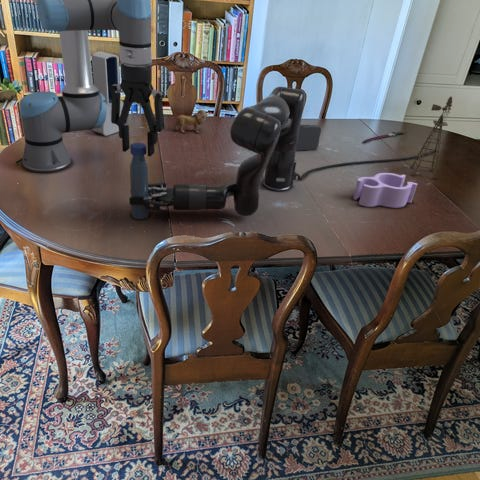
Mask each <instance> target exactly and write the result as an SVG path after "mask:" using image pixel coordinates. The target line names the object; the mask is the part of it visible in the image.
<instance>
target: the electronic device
mask: <svg viewBox="0 0 480 480" xmlns="http://www.w3.org/2000/svg"><path fill="white" fill-rule="evenodd" d="M91 59H92V61H91V64H92V77H93V84H94V85H95V86H96V87H97V88H98V91H99V93H101V94H102V95H103V96H104V98H105V103H106V106H107V116H106V120H105V123H104V125H103V126H102V127H100V128H96V129H92V131H94V133H96V134H99V135H102V136H105V137H107V136H110V135H112V134H113V135H114V134H117V133H119V127H118V125H116V124H113V123H112V122H111V109H112V94H111V90H110V86H112V85H114V84H120V70H119V69H120V68H119V56H118V55H115V54H112V53H109V52H104V51H96V52H94V53H93V54H91ZM123 102H124V101H122V100H121V99H120V114H121V111H122V108H123V104H124V103H123ZM125 125H127V123H126V124H125Z"/></svg>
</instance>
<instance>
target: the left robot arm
mask: <svg viewBox="0 0 480 480" xmlns="http://www.w3.org/2000/svg"><path fill="white" fill-rule="evenodd" d="M32 1H33V2H34V4H35V5H36V13H37V17H38V20H39V22H40V25H41V27H42V28H43V29H44V30H46V31H55V32H58V33H59V34H58V35H59V43H60V51H61V57H62V65H63V66H62V67H63V73H64V80H65V85H64V86H63V87H62V89H61V95H60V96H59V95H58V94H57V93H56V92H54V91H45V90H44V91H43V90H42V91H36V92H32V93H28V94H26V95H24V96H23V97H22V98H21V99H20V100H19V103H18V104H19V116H20V119H21V125H22V132H23V136H24V148H23V153H22V158H21V157H20V159H18V160H16V161H15V164H16V165H17V164H19V163H22V166H23V168H24V169H25V170H27V171H29V172H33V173H39V174H46V173H56V172H61V171H63V170H66V169H67V168H69V167H70V166H71V163H72V159H71V155H70V153H69V151H68V150H67V149H68V148H67V147H66V145H65V143H64V140H63V134H64V133H74V132H81V131H93V129H96V128H100V127H102V126H103V125H104V123H105V120H106V116H107V106H106V103H105V98H104V96H103V95H102V94H101V93H99V91H98V88H97V87H96V86H95V85H94V77H93V68H92V61H91V59H92V58H91V51H90V42H89V32H88V31H117V32H118V40H119V41H118V43H119V59H120V60H119V61H120V62H121V64H120V65H119V66H120V68H119V69H120V79H121V81H120V82H119V84H114V85H112V86H110V90H111V94H112V109H111V122H112V123H113V124H116V125H118V127H119V132H118V137H119V139H121V143H122V148H121V149H122V152H123V153H126V152H127V151H128V150H129V149H130V145H131V144H130V125H128V124H127V121H128V117H129V115H130V111H131V108H132V106H133V103H138V104H139V105H140V108H142V110H143V115H144V117H145V120H146V123H147V127H148V129H149V130H148V131H147V133H146V134H147V135H146V136H147V137H146V138H147V139H146V140H147V141H146V145H147V157H152V156H153V155H154V154H155V145H156V144H157V143H158V133H160V132H162V131H163V130H165V118H164V105H163V99H164V95H165V92H163V91H162V90H160V91H159V90H157V89H154V86H153V84H152V83H153V82H152V81H153V66H152V65H151V64H152V63H153V55H152V15H153V11H152V5H151V2H152V1H151V0H32ZM121 92H122V93H123V94H124V98H123V101H122V102H123V108H122V111H121V114H120V100H121V95H122V94H121ZM150 96H152V99H153V105H154V107H153V108H154V112H153V108H152V105H151V99H150ZM125 124H126V125H125Z"/></svg>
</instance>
